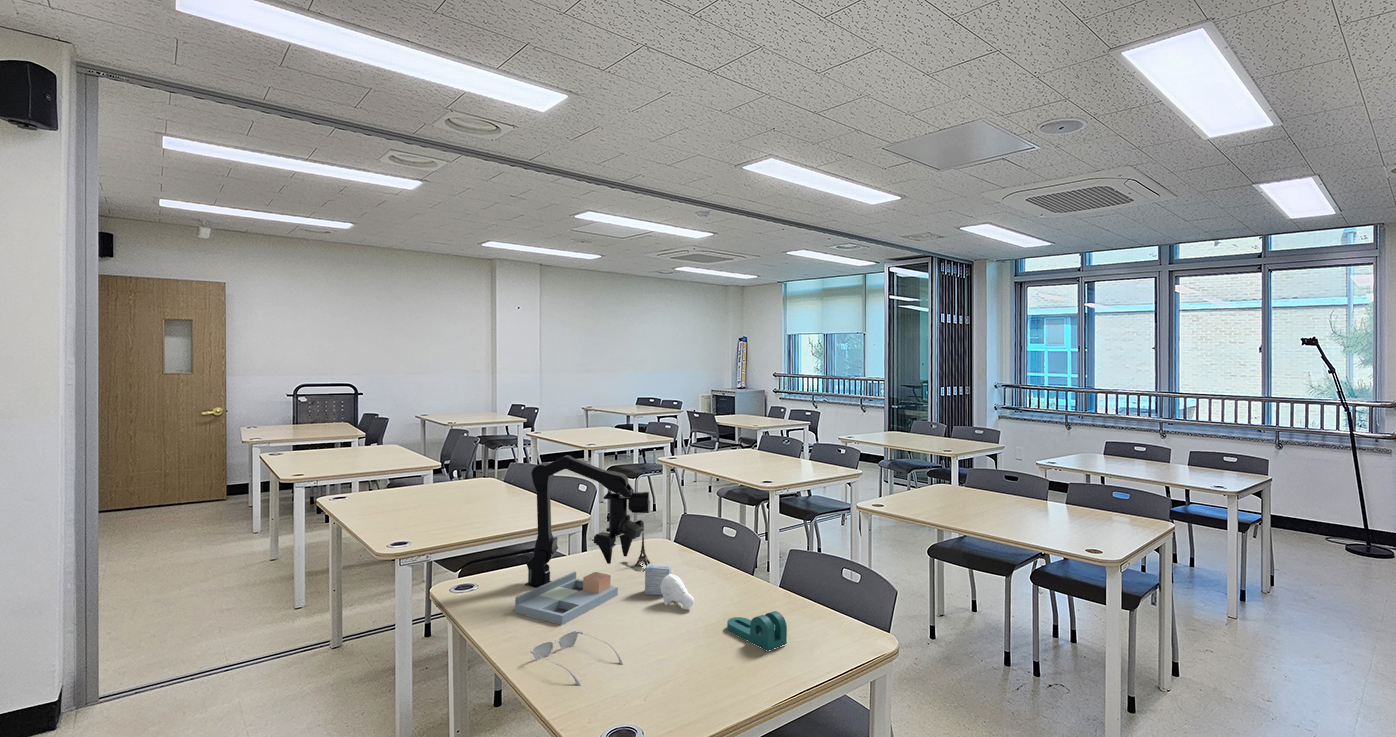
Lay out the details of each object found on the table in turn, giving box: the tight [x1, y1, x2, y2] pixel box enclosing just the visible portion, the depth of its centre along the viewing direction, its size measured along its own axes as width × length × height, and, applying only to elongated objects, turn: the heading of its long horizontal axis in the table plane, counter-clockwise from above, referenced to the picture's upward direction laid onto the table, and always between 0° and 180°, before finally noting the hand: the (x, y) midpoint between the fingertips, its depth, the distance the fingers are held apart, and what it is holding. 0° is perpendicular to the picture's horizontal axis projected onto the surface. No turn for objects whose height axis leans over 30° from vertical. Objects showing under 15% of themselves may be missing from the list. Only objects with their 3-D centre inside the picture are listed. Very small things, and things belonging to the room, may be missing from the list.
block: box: [582, 571, 612, 594], centre depth 196 cm, size 6×6×4 cm
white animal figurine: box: [660, 573, 695, 611], centre depth 190 cm, size 6×8×12 cm
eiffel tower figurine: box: [619, 532, 651, 573], centre depth 228 cm, size 15×10×13 cm
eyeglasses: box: [529, 630, 625, 686], centre depth 152 cm, size 15×18×4 cm
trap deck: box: [514, 571, 619, 626], centre depth 190 cm, size 18×26×4 cm, turn 152°
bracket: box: [726, 610, 788, 652], centre depth 169 cm, size 18×7×8 cm, turn 38°
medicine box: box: [644, 563, 672, 596], centre depth 200 cm, size 8×4×9 cm, turn 84°
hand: (617, 560), depth 205 cm, fingers open, 9 cm apart
